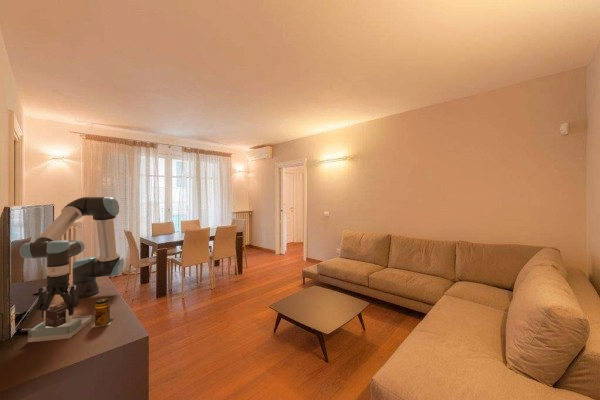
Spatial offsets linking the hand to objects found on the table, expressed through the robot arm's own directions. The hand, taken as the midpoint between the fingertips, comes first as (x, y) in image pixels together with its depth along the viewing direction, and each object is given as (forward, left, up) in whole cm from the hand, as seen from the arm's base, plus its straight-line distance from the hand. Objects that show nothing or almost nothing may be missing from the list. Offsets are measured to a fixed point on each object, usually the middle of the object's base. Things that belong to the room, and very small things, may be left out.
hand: (58, 322), depth 113 cm
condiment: (-8, +15, -5) cm, 17 cm away
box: (0, 0, -1) cm, 1 cm away
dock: (-3, 0, -5) cm, 6 cm away
